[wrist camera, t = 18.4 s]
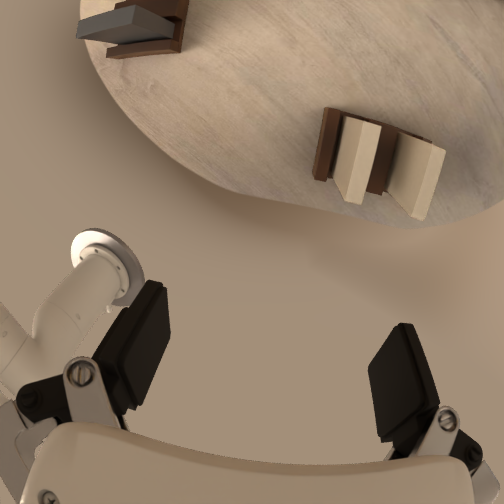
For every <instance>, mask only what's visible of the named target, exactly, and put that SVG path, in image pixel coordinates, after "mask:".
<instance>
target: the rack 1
mask: <svg viewBox="0 0 504 504" xmlns="http://www.w3.org/2000/svg"><path fill="white" fill-rule="evenodd" d="M132 5H137V6H140V7H142V8H144V9H146V10H148V11H150V12H152V13H154V14H156V15H158V16H160V17H162V18H164V19H166V20H168V21H170V22H172V23H174V24H175V27H174V33H173V39H167V40H156V41H148V42H140V43H133V44H127V45H119V44H118V46H116V47H111V48H107V53H106V58H114V59H124V58H131V57H139V56H148V55H159V54H174V53H181V46H182V39H183V33H184V27H185V21H186V16H187V10H188V5H189V0H126V1H124V2H120V3H116V4H115V8H114V10H116V9H119V8H124V7H128V6H132Z"/></svg>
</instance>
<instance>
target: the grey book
mask: <svg viewBox="0 0 504 504" xmlns="http://www.w3.org/2000/svg"><path fill="white" fill-rule="evenodd" d="M174 27H175V24H174V23H172V22H170V21H168V20H166V19H164V18H162V17H160V16H158V15H156V14H154V13H152V12H150V11H148V10H146V9H144V8H142V7H140V6H137V5H132V6H128V7H124V8H119V9H116V10H112V11H108V12H105V13H101V14H98V15H95V16H92V17H89V18H86V19H83V20H80V21H79V23H78V28H77V34H76V38H79V39H88V40H95V41H102V42H108V43H114V44H119V45H127V44H133V43H140V42H148V41H156V40H167V39H173V33H174Z"/></svg>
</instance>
